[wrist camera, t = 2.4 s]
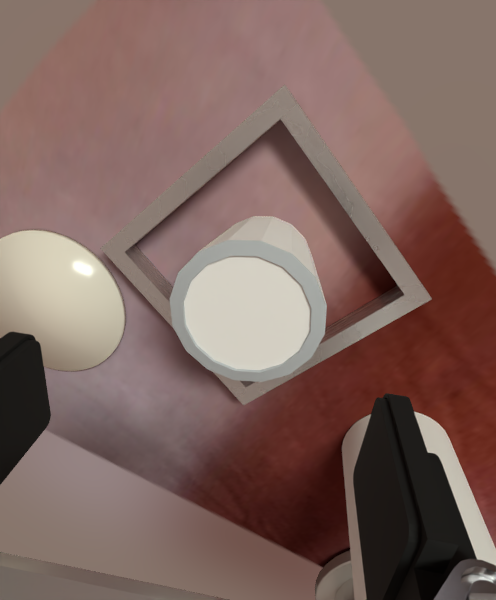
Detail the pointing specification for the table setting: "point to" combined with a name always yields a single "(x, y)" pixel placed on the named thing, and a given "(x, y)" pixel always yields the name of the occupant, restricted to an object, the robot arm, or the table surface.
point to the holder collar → (305, 134)
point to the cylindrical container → (462, 493)
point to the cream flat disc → (60, 299)
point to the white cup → (251, 302)
